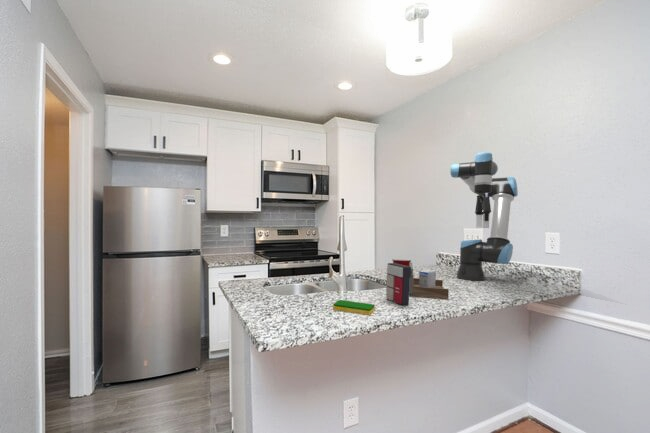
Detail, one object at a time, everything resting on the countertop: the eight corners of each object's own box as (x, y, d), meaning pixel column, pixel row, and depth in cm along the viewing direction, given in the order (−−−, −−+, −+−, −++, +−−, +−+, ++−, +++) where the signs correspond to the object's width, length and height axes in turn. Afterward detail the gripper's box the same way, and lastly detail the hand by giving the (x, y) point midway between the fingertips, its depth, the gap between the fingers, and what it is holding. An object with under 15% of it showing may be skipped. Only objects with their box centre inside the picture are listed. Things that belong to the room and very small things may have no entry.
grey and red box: (384, 298, 128) (385, 263, 128) (393, 298, 129) (394, 262, 130) (401, 305, 118) (402, 267, 118) (410, 304, 119) (411, 266, 120)
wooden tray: (408, 285, 155) (409, 262, 155) (442, 288, 151) (442, 264, 151) (409, 295, 134) (410, 268, 134) (448, 299, 130) (448, 271, 130)
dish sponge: (339, 305, 117) (339, 299, 117) (374, 311, 111) (374, 304, 112) (332, 310, 110) (332, 304, 110) (369, 316, 105) (370, 309, 105)
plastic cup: (409, 278, 176) (409, 257, 176) (412, 282, 165) (413, 260, 165) (390, 277, 177) (390, 257, 177) (392, 281, 166) (393, 259, 166)
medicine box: (426, 287, 147) (427, 269, 147) (435, 289, 143) (436, 270, 144) (418, 289, 141) (419, 271, 141) (427, 291, 138) (428, 272, 138)
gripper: (499, 181, 136) (498, 228, 136) (485, 187, 160) (484, 227, 160) (480, 181, 138) (479, 228, 138) (469, 187, 162) (468, 227, 162)
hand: (482, 227), depth 149 cm, fingers open, 13 cm apart
